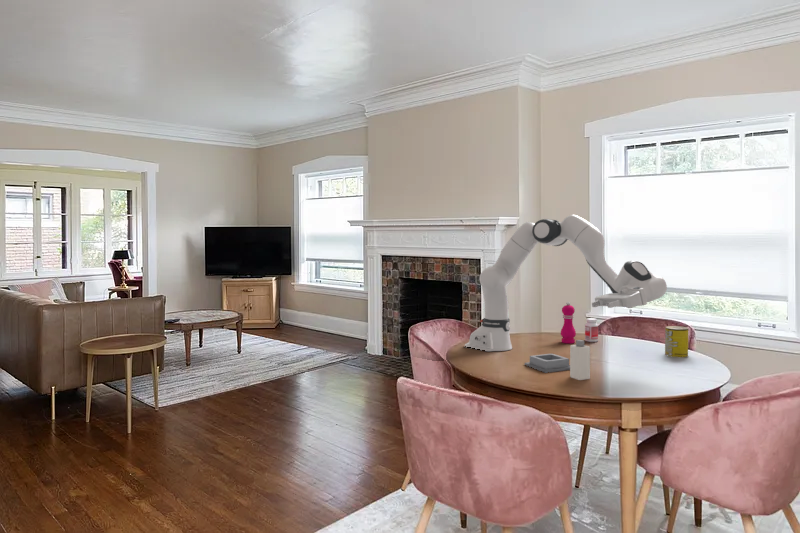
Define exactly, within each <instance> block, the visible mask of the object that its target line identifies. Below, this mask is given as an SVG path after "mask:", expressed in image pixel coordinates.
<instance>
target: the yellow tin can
mask: <svg viewBox="0 0 800 533" xmlns="http://www.w3.org/2000/svg"><path fill="white" fill-rule="evenodd" d="M664 329H665V330H664V332H665V333H664V334H665V335H664V355H665V356H667V355H668V356H667V357H671V356H672V357H671V358H687V357H689V328H688V327H686V326H678V325H671V326H670V325H668V326H667V325H666V326H665V328H664Z"/></svg>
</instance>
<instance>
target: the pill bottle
mask: <svg viewBox="0 0 800 533" xmlns="http://www.w3.org/2000/svg"><path fill="white" fill-rule="evenodd" d="M597 320H598V319H597V318H593V317H592V318H586V323H585V324H584V342H589V343H596V342H599V325H598V323H597V322H598V321H597Z"/></svg>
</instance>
